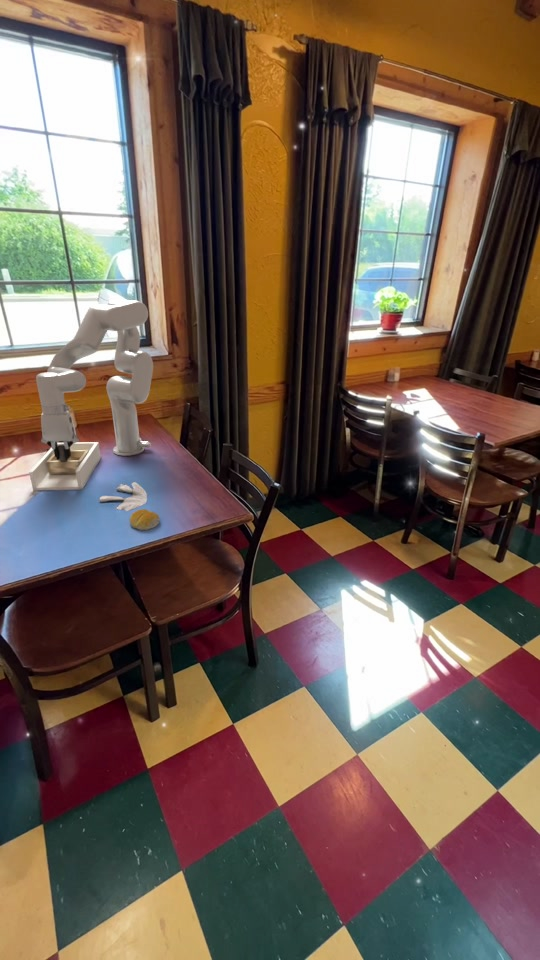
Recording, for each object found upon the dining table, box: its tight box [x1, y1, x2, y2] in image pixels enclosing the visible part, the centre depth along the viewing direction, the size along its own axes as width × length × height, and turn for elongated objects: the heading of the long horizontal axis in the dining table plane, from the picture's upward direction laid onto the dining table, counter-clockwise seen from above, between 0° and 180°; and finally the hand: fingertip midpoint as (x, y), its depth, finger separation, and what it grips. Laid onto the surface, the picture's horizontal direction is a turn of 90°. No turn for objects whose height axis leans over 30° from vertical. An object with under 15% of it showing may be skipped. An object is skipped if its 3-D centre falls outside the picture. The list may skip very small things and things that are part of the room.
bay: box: [28, 441, 102, 491], centre depth 165 cm, size 16×28×7 cm, turn 6°
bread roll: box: [129, 509, 160, 531], centre depth 136 cm, size 8×9×4 cm
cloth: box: [99, 481, 148, 512], centre depth 152 cm, size 20×22×2 cm
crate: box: [47, 445, 89, 474], centre depth 165 cm, size 12×12×11 cm
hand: (63, 457), depth 161 cm, fingers closed on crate, 2 cm apart
